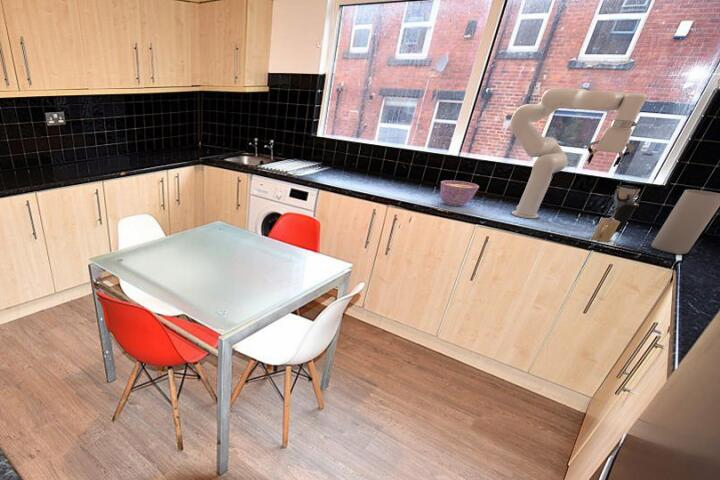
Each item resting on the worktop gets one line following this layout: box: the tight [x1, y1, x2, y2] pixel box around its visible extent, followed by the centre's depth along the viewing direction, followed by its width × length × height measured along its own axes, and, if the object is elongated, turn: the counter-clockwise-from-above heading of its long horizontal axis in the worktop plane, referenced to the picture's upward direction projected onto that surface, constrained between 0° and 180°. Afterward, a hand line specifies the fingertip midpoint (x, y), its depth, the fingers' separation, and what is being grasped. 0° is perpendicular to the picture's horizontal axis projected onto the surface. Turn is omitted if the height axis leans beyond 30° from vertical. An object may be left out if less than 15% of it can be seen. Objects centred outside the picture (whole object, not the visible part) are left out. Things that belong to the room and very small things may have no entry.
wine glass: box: [600, 184, 641, 223], centre depth 192 cm, size 8×8×15 cm
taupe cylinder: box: [650, 189, 720, 255], centre depth 184 cm, size 12×12×25 cm
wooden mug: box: [591, 218, 620, 242], centre depth 198 cm, size 10×7×9 cm
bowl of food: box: [439, 179, 480, 207], centre depth 246 cm, size 20×20×12 cm
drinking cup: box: [614, 200, 640, 233], centre depth 209 cm, size 8×8×20 cm
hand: (601, 164), depth 200 cm, fingers open, 9 cm apart
